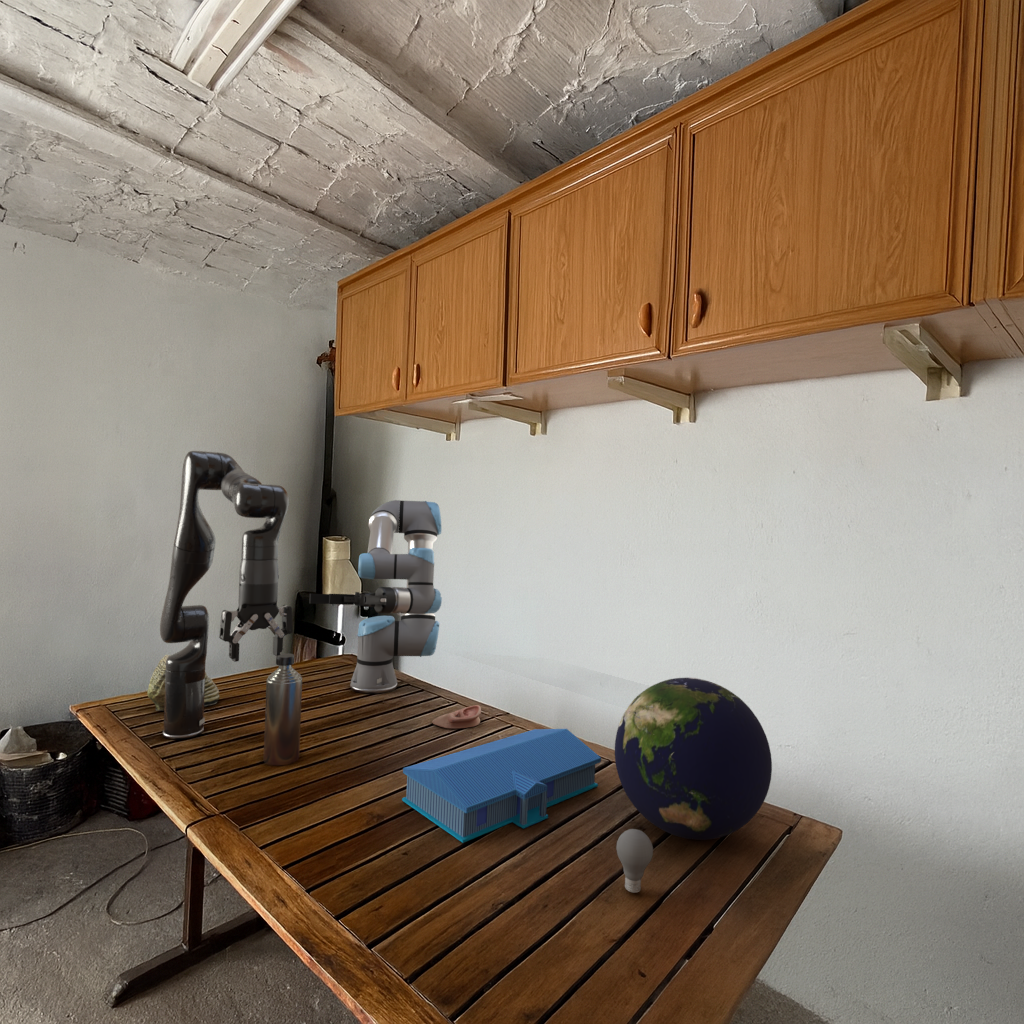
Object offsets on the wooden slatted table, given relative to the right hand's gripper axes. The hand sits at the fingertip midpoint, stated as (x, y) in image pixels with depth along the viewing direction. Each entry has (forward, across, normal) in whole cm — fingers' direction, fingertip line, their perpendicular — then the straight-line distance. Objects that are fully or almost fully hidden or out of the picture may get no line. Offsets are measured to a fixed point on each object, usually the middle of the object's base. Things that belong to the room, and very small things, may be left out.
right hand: (319, 598), depth 169 cm
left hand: (+24, -27, -12) cm, 38 cm away
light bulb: (-21, -90, -47) cm, 104 cm away
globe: (-46, -83, -44) cm, 105 cm away
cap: (+12, -11, -14) cm, 21 cm away
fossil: (+22, +43, -32) cm, 58 cm away
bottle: (+10, -7, -38) cm, 40 cm away
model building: (-25, -52, -42) cm, 71 cm away
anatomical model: (-39, -9, -34) cm, 53 cm away
